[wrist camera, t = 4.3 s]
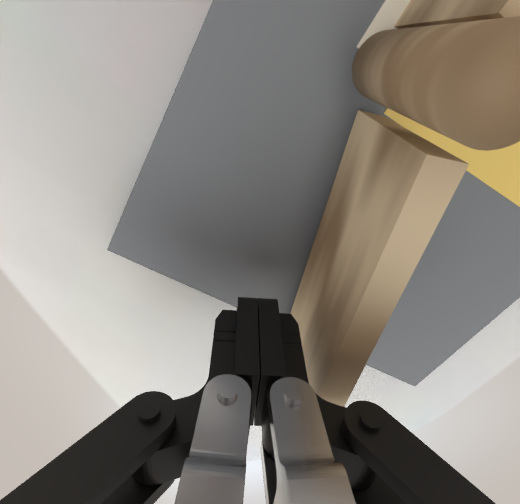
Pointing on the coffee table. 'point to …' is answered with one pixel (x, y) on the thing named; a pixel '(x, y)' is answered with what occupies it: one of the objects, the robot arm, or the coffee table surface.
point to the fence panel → (368, 246)
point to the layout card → (308, 178)
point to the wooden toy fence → (449, 69)
